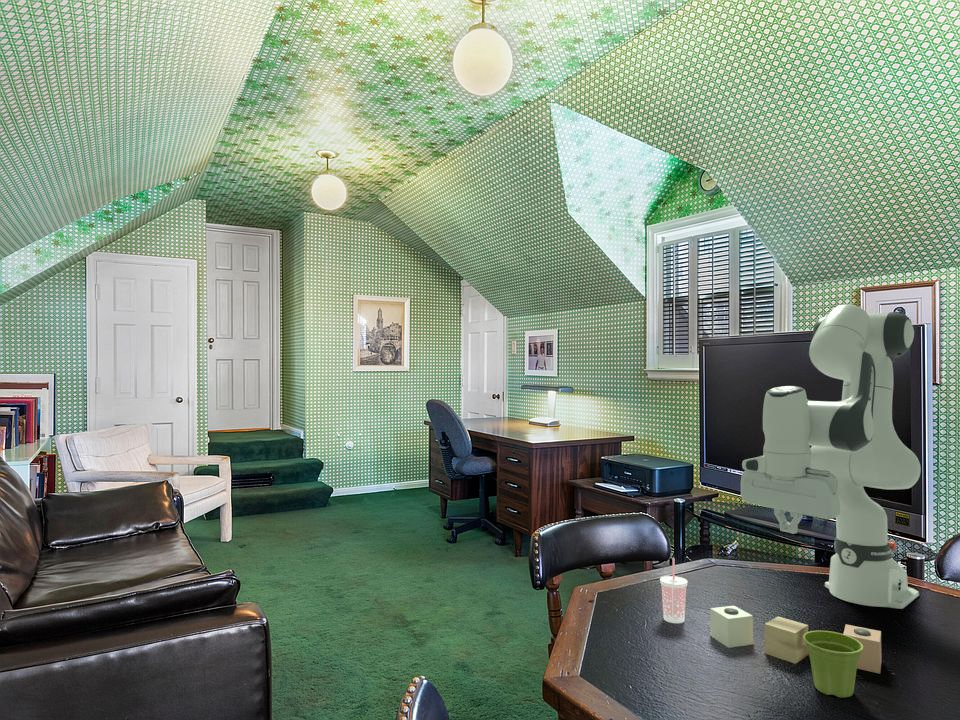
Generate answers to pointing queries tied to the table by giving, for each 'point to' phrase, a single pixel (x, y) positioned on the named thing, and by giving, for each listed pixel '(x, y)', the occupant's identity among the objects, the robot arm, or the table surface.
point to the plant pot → (833, 661)
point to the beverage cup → (673, 597)
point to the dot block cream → (731, 626)
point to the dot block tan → (867, 647)
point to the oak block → (786, 639)
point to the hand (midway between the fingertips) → (788, 531)
